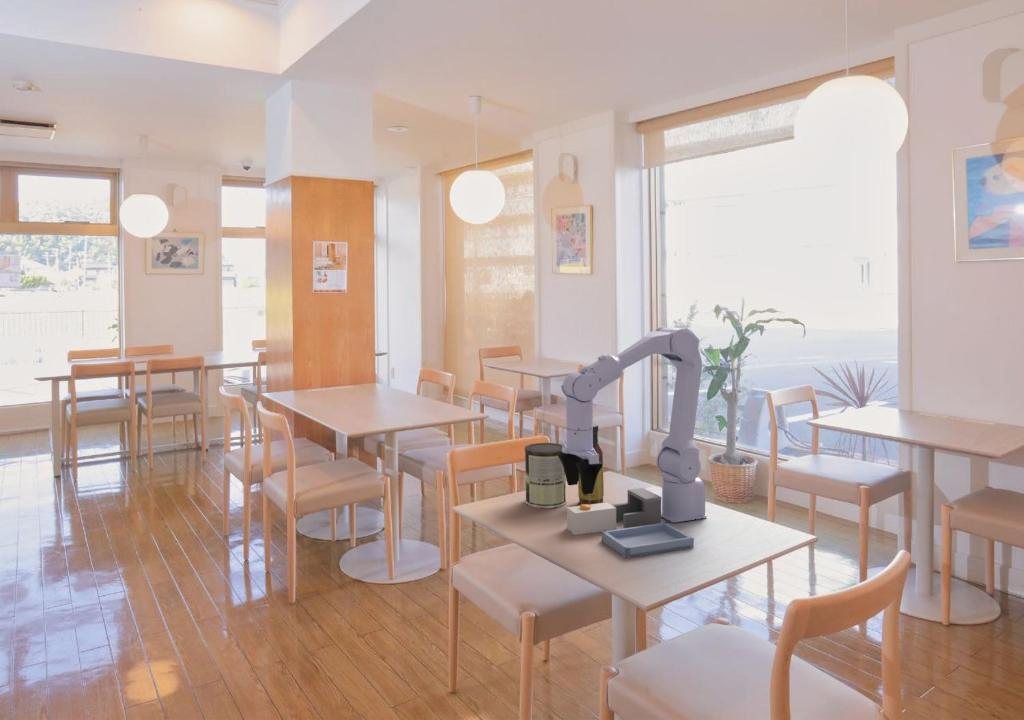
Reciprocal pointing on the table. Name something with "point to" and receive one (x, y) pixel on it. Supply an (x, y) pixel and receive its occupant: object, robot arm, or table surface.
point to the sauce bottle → (599, 484)
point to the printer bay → (639, 508)
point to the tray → (647, 539)
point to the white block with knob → (591, 518)
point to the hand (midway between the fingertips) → (580, 489)
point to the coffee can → (544, 476)
